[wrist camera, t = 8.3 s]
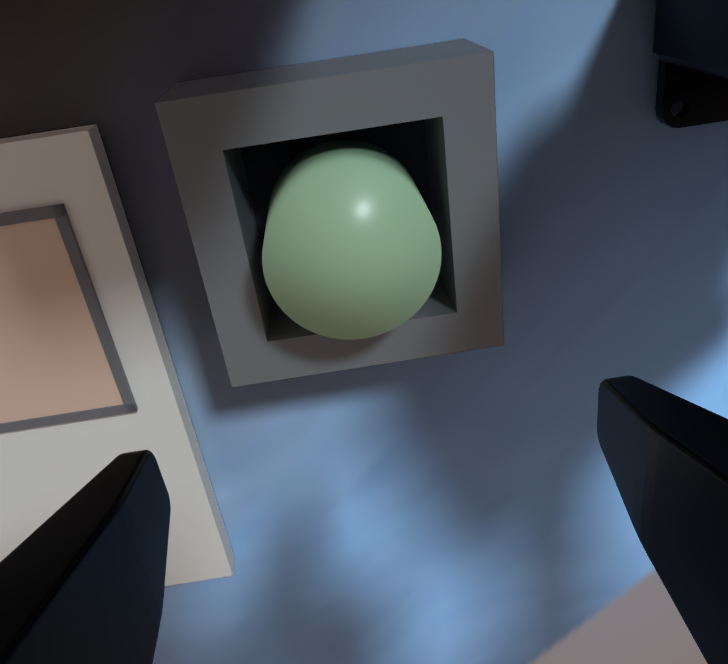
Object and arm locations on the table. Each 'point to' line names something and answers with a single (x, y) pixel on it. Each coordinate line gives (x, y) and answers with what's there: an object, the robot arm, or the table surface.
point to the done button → (349, 242)
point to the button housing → (326, 116)
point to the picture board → (87, 353)
